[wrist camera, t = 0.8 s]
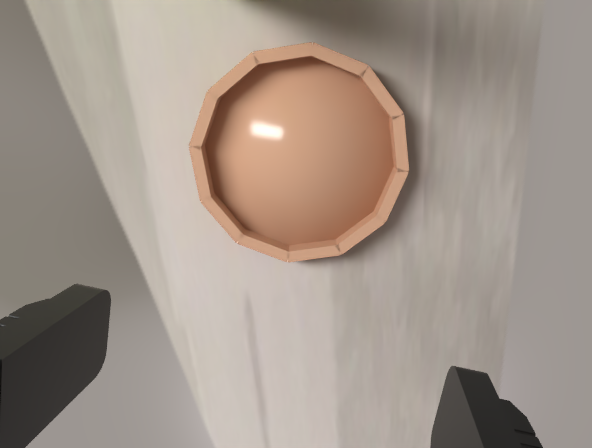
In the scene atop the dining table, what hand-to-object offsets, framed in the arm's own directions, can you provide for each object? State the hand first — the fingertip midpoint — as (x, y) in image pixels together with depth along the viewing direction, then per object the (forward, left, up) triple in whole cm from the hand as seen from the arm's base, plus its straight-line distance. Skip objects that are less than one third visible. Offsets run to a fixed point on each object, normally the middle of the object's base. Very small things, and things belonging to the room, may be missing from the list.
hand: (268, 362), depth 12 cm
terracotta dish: (0, +1, -26) cm, 26 cm away
